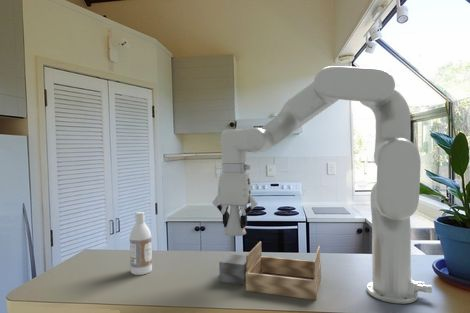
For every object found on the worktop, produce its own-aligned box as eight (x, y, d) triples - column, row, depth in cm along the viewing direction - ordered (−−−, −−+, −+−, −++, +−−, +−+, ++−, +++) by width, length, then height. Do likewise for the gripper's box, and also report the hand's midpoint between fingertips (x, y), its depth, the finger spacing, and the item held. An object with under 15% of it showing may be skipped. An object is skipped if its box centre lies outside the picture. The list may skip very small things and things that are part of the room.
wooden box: (321, 277, 101) (320, 245, 100) (316, 299, 86) (315, 262, 86) (260, 270, 107) (259, 240, 107) (245, 290, 92) (245, 255, 92)
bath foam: (143, 276, 104) (141, 215, 104) (126, 273, 107) (124, 213, 107) (156, 269, 111) (154, 211, 110) (140, 266, 113) (138, 210, 113)
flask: (244, 237, 97) (243, 204, 97) (221, 236, 99) (220, 204, 98) (248, 231, 104) (247, 200, 104) (226, 230, 106) (225, 200, 105)
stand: (252, 274, 104) (251, 256, 104) (244, 284, 97) (244, 264, 96) (228, 271, 107) (228, 253, 107) (219, 281, 99) (219, 262, 99)
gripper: (263, 168, 102) (264, 225, 102) (213, 168, 107) (214, 222, 108) (256, 169, 95) (257, 231, 95) (204, 169, 100) (205, 227, 101)
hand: (234, 226), depth 101 cm, fingers closed on flask, 4 cm apart
